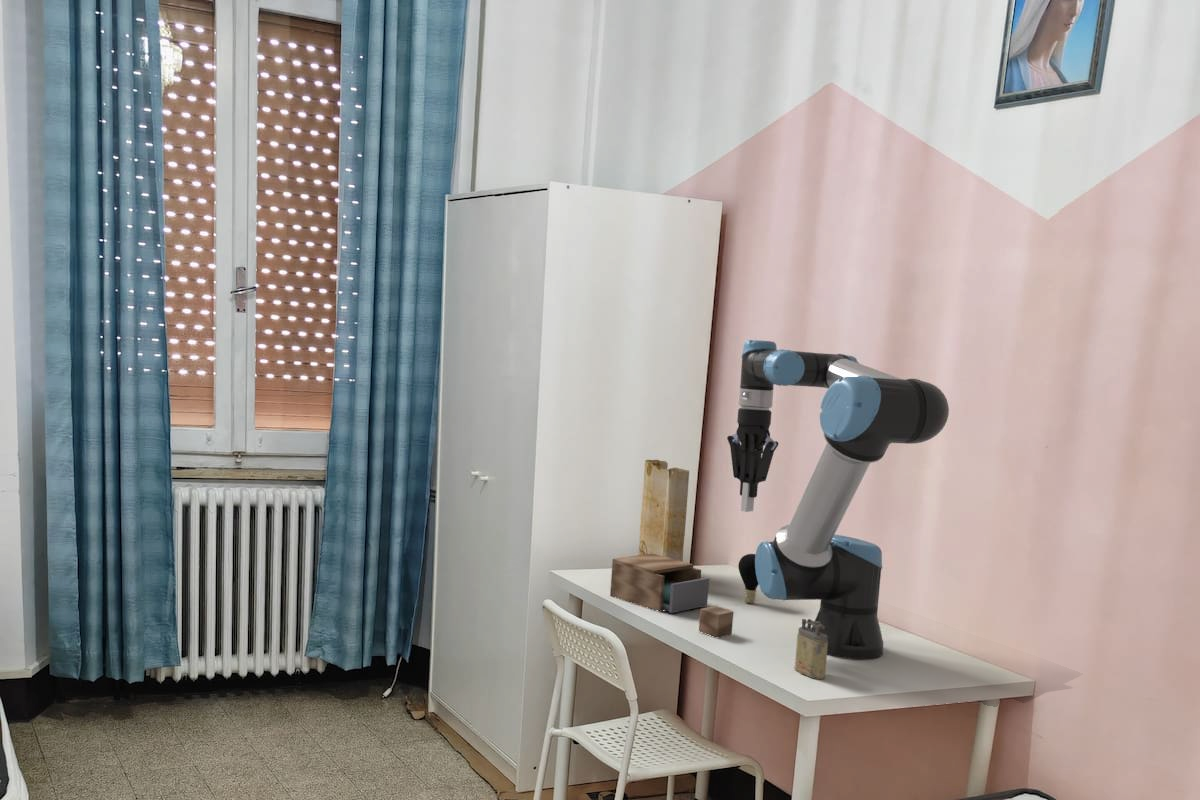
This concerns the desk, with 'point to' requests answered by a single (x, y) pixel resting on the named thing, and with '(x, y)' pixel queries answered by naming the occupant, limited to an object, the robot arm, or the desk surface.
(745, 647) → the desk surface
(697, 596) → the tray
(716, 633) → the block
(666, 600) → the teal rounded puck
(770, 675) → the desk surface
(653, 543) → the tan piece
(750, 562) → the light bulb
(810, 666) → the lighter
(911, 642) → the desk surface
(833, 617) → the robot arm
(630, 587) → the box
